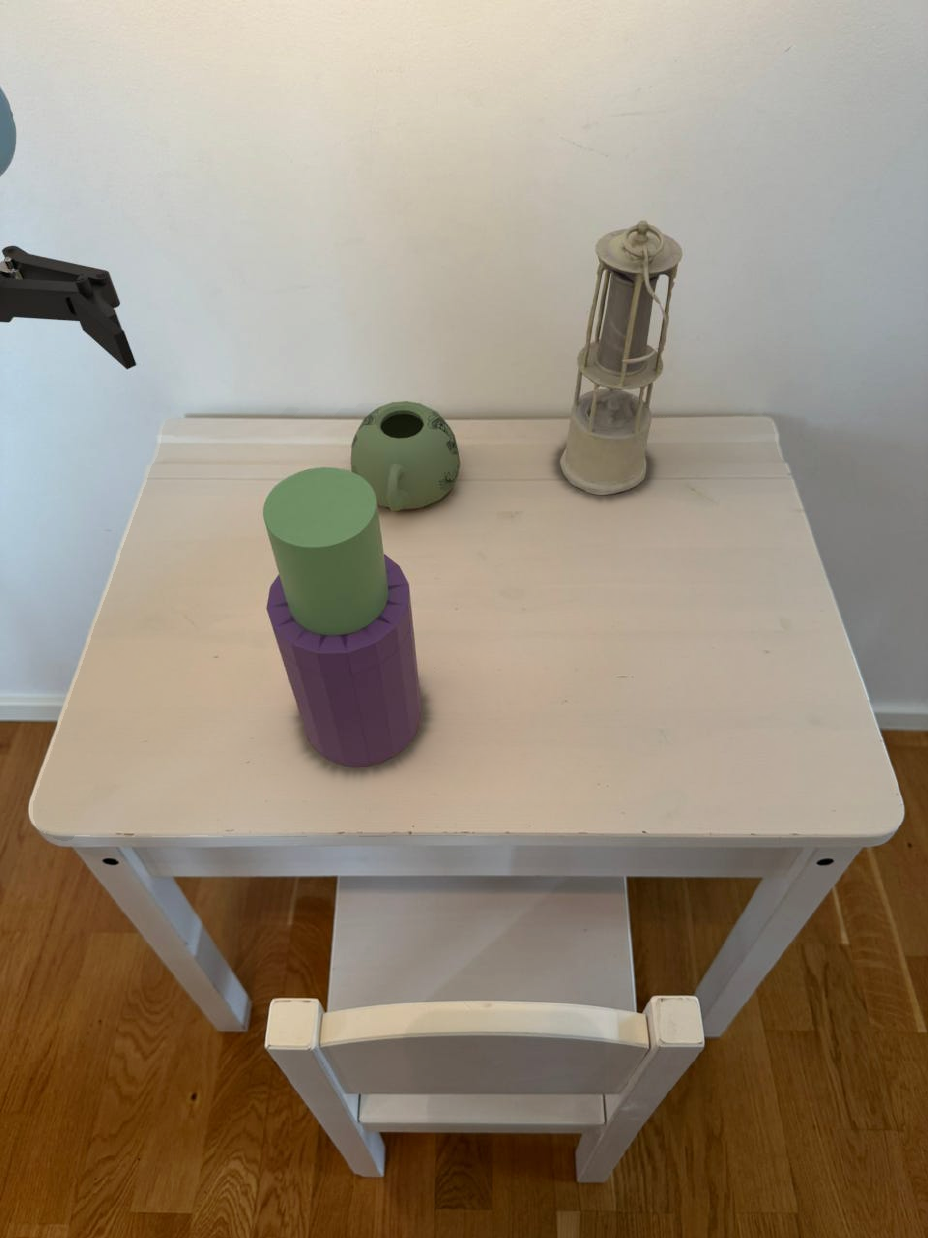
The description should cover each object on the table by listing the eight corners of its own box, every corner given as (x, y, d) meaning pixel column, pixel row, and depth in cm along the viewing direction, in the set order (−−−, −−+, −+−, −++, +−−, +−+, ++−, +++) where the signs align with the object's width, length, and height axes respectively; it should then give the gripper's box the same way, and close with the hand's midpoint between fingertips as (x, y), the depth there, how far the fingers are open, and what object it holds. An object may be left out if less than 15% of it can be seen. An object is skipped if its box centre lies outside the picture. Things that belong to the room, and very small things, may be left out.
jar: (298, 767, 79) (258, 654, 65) (310, 667, 86) (276, 545, 72) (419, 766, 79) (406, 651, 65) (422, 666, 86) (410, 542, 72)
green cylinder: (267, 613, 67) (239, 523, 60) (323, 546, 72) (304, 454, 64) (354, 650, 65) (336, 562, 57) (407, 578, 69) (397, 487, 61)
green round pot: (361, 441, 107) (353, 383, 100) (465, 445, 106) (464, 387, 99) (339, 534, 97) (329, 477, 90) (453, 540, 96) (451, 483, 90)
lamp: (639, 436, 107) (685, 193, 83) (656, 510, 99) (711, 265, 75) (556, 438, 107) (578, 196, 83) (566, 512, 99) (593, 268, 75)
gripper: (77, 253, 74) (210, 362, 64) (-233, 377, 64) (-132, 529, 54) (42, 163, 68) (182, 267, 58) (-307, 284, 58) (-207, 435, 48)
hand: (32, 393), depth 56 cm, fingers open, 13 cm apart
